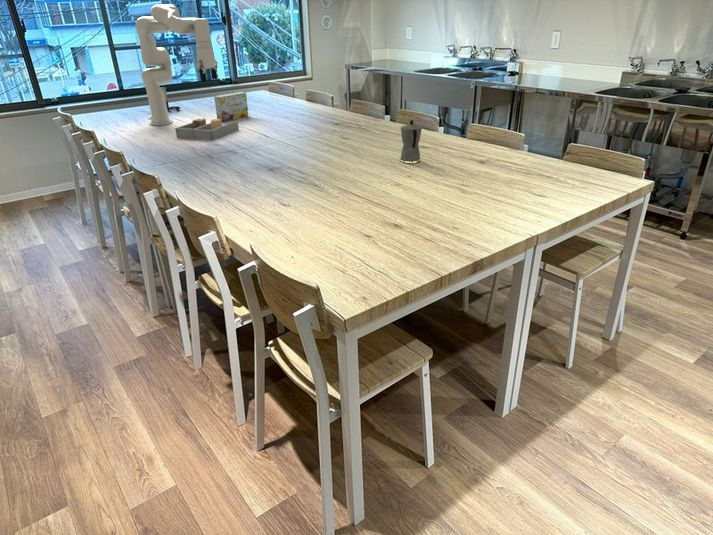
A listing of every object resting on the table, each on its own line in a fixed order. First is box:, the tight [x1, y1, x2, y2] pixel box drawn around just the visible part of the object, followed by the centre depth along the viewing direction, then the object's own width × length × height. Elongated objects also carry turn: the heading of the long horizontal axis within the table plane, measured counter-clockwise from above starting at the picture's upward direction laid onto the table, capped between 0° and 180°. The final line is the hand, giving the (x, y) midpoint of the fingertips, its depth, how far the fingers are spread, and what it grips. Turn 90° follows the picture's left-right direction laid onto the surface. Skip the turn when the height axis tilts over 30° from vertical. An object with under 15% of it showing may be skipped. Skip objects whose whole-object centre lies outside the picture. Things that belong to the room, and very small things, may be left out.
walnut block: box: [192, 118, 207, 129], centre depth 276 cm, size 5×5×7 cm
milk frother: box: [159, 86, 181, 112], centre depth 334 cm, size 14×16×15 cm
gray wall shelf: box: [175, 118, 240, 141], centre depth 274 cm, size 23×26×5 cm
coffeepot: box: [399, 119, 423, 162], centre depth 215 cm, size 15×9×18 cm, turn 6°
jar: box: [210, 118, 223, 130], centre depth 272 cm, size 6×6×8 cm
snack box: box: [213, 91, 249, 123], centre depth 306 cm, size 21×6×15 cm, turn 143°
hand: (209, 80), depth 260 cm, fingers open, 9 cm apart
